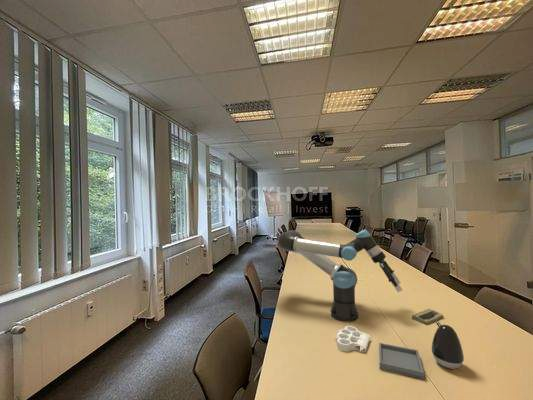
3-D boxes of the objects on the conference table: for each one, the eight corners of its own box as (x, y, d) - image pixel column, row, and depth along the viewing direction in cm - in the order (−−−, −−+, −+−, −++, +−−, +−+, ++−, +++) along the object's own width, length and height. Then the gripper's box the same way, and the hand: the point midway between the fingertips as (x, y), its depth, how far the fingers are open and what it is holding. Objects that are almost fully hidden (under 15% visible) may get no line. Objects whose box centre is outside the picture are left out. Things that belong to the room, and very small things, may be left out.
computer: (427, 326, 127) (426, 319, 127) (411, 319, 134) (411, 313, 134) (443, 319, 134) (443, 313, 134) (428, 313, 141) (428, 307, 141)
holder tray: (379, 369, 95) (379, 362, 95) (379, 348, 108) (379, 342, 108) (424, 379, 89) (424, 372, 89) (418, 356, 102) (417, 350, 102)
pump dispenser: (449, 355, 102) (448, 318, 102) (471, 372, 92) (470, 331, 92) (425, 356, 102) (424, 319, 102) (444, 373, 91) (443, 332, 92)
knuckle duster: (364, 358, 102) (329, 348, 110) (371, 337, 117) (340, 330, 125) (364, 350, 102) (329, 340, 110) (371, 330, 117) (340, 323, 125)
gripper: (381, 254, 132) (407, 291, 127) (381, 247, 155) (403, 278, 149) (369, 261, 135) (394, 297, 129) (371, 253, 157) (392, 283, 152)
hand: (399, 287), depth 139 cm, fingers open, 13 cm apart
